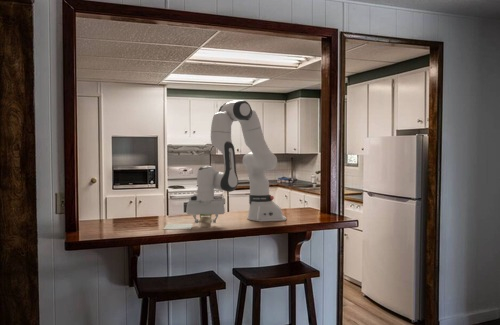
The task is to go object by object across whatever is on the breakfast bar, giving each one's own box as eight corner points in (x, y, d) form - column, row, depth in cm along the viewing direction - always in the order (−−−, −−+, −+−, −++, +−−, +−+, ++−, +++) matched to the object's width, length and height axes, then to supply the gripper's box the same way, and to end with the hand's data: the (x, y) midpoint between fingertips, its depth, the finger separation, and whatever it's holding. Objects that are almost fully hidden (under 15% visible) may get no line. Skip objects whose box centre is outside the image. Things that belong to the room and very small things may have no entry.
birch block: (210, 225, 227) (210, 215, 227) (210, 226, 222) (210, 217, 222) (201, 225, 227) (201, 215, 227) (200, 226, 222) (200, 217, 222)
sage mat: (193, 224, 230) (193, 223, 230) (190, 229, 216) (190, 228, 216) (167, 224, 229) (167, 224, 229) (163, 229, 215) (163, 229, 215)
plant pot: (211, 218, 250) (211, 203, 249) (215, 220, 241) (215, 205, 241) (196, 219, 247) (195, 204, 246) (199, 221, 238) (199, 206, 238)
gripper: (225, 195, 228) (225, 221, 229) (187, 196, 227) (187, 221, 227) (225, 197, 222) (225, 223, 222) (185, 197, 221) (186, 224, 221)
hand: (205, 222), depth 225 cm, fingers open, 8 cm apart
